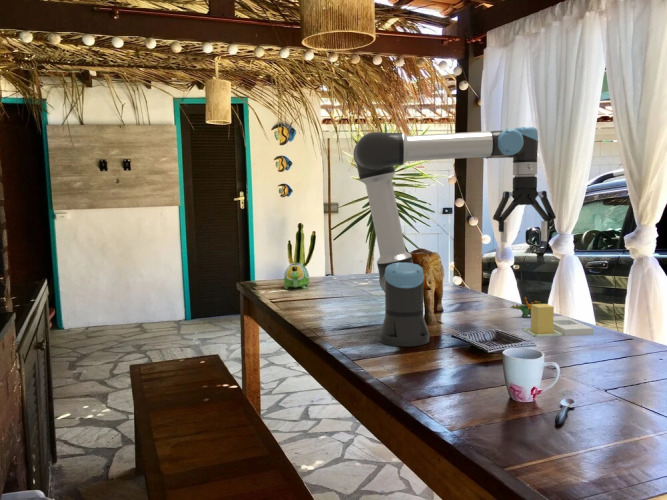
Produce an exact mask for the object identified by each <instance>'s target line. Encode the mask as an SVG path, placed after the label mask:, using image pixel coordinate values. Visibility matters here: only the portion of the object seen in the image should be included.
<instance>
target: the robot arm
mask: <svg viewBox="0 0 667 500" xmlns="http://www.w3.org/2000/svg"><path fill="white" fill-rule="evenodd" d="M538 134H539V133H538V129H537V128H536V127H534V126H524V127H523V126H521V127H516V128H506V129H502V130H490V131H489V130H488V131H485V130H484V131H469V132H466V131H465V132H450V133H433V134H431V133H430V134H415V135H414V134H412V135H406V134H405V133H403V132H382V131H373V132H372V131H371V132H368V133H366V134H364V136H362V137H361V138H359V140H358V141H357V143H355V145H354V148H353V160H354V162H355V164H356V170H357V172H358V173H357V174H358V179H359V181H360V182H361V183H363V184H364V185H365V189H366V194H367V198H368V203H369V208H370V214H371V217H372V222H373V227H374V232H375V236H376V237H375V238H376V242H377V248H378V251H379V258H378V259H377V261H376V266H377V269H378V270H377V271H378V276H379V277H378V278H379V279H378V281H379V282H378V283H379V286H380V288H381V289H382V291H383V292H384V300H385V301H384V303H385V304H384V308H385V311H384V315H385V316H384V319H383V322H382V326H381V327H380V328H381V329H380V332H379V341H380V343H383V344H385V345H389V346H395V347H418V346H423V345H426V344H428V343H429V342H430V332H429V328H428V326H427V323H426V320H425V317H424V279H425V274H424V269H423V267H422V266H421V265H420V264H417V263H414V261H413V257H412V254H411V253H410V252H408V251H407V250H406V244H405V240H404V235H403V229H402V225H401V220H400V214H399V209H398V205H397V200H396V195H395V191H394V185H393V177H394V175H395V174H396V171H395V166H404V165H405V164H406V162H416V161H433V160H436V161H437V160H451V159H470V158H479V159H504V158H505V159H506V158H507V159H512V176H513V178H512V192H511V191H506V190H505V191H503V193H502V197H501V199H500V203H499V204H498V206H497V208H496V210H495V212H494V214H493V217H492V220H493V221H497V222H498V232H500V242H501V243H507V239H508V238H507V237H508V236H507V235H508V234H507V233H508V232H507V231H508V230H507V229H508V225H507V224H508V223H507V222H506V220H507V219H508V217H509V216H510V215H511V213H512V212H513V211H514V210H515V209H516V208H517V207H518V206H531V207H533V208H534V210H535V211H536V212H537V214H538V215H539V216H540V217H541V219H542V220H540V222H541V223H540V226H541V227H540V229H541V230H540V241H541V242H547V241H548V232H549V231H550V227H551V226H550V225H551V221H552V220H555V219H556V218H557V216H556V214H555V212H554V210H553V208H552V205H551V203H550V201H549V199H548V193H547V191H546V190H540V191H538V189H537V188H538V177H537V175H538V153H539V152H538V147H539V146H538V145H539V135H538ZM511 197H512V201H511V202H510V204H509V205H508V206H507V204H508V202H509V199H510V198H511ZM537 198H539V199H540V201H541V204H542V205H543V207H544V209H545V210H544V209H543V207H542V206H541V204H540V203H539V201H538V200H537ZM506 206H507V207H506ZM505 208H506V209H505ZM504 209H505V210H504Z"/></svg>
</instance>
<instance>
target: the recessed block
mask: <svg viewBox="0 0 667 500" xmlns="http://www.w3.org/2000/svg"><path fill="white" fill-rule="evenodd" d="M553 329H554V330H556V331H558V332H560V333H562V334H563V336H564V337H571V336H572V337H574V336H576V337H577V336H593V335H594V327H592V326H589V325H586V324H584V323H582V322H580V321H577V320H576V319H573V318H570V317H568V316H566V315H554V319H553Z"/></svg>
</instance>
